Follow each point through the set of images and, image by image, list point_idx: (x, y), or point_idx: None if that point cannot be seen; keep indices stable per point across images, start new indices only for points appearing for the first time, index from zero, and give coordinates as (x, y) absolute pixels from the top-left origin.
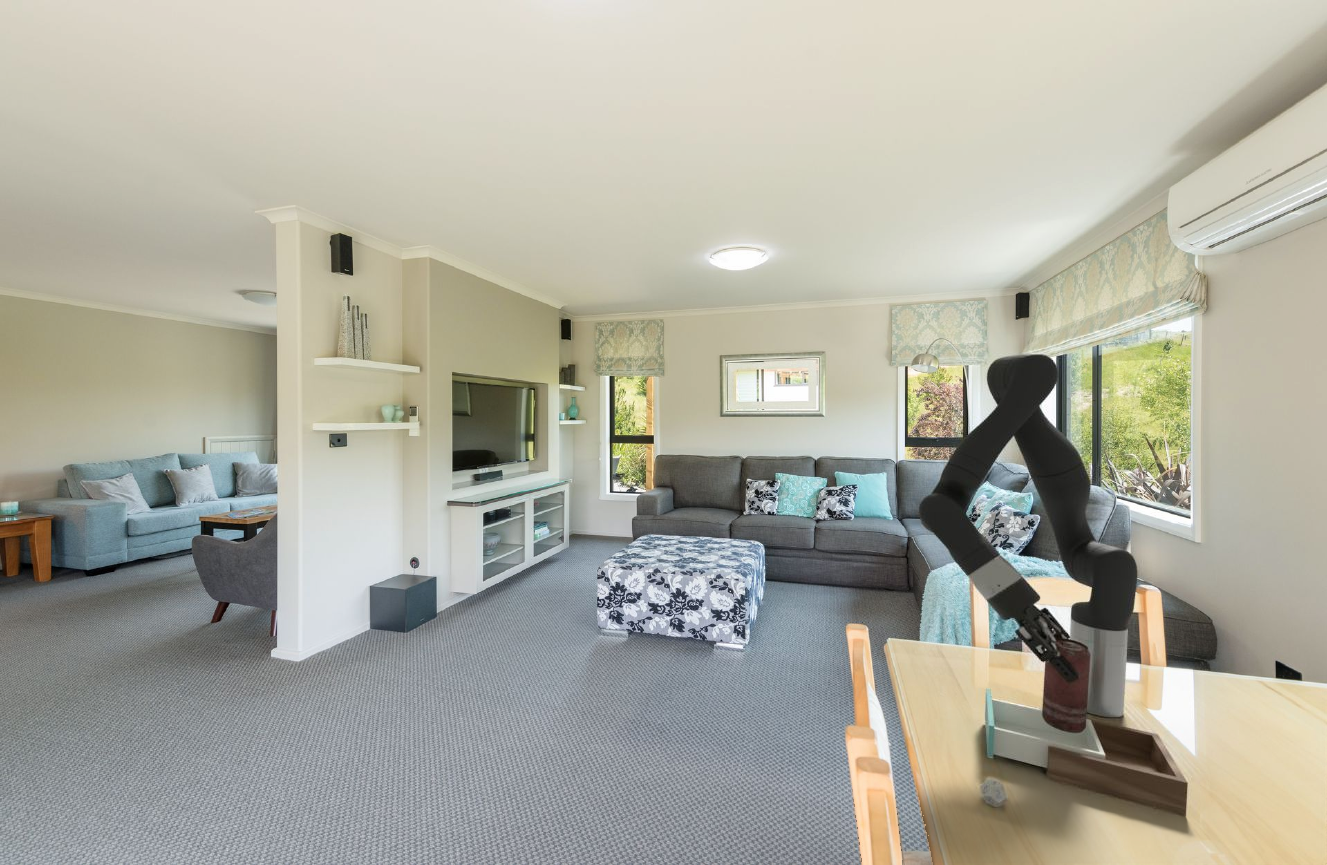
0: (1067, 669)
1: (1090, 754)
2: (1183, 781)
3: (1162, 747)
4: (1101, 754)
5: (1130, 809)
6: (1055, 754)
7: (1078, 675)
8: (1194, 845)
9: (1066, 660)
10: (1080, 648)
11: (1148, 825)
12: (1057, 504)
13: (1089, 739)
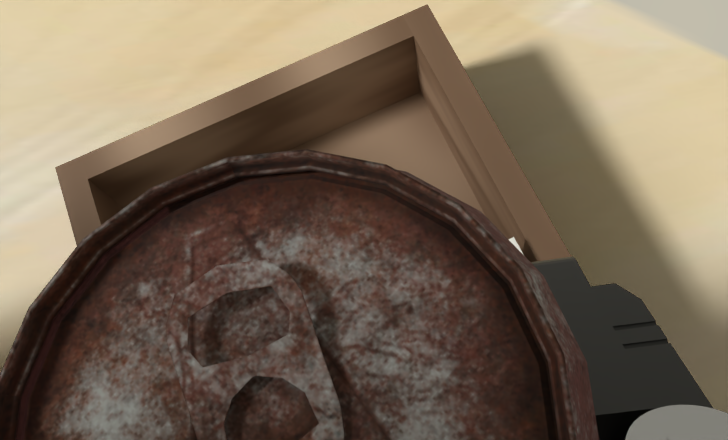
0: (664, 336)
1: None
2: (429, 15)
3: (180, 126)
4: (520, 251)
5: (558, 188)
6: None
7: (570, 258)
8: (591, 28)
9: (597, 363)
10: (240, 262)
11: (607, 129)
12: None
13: None
